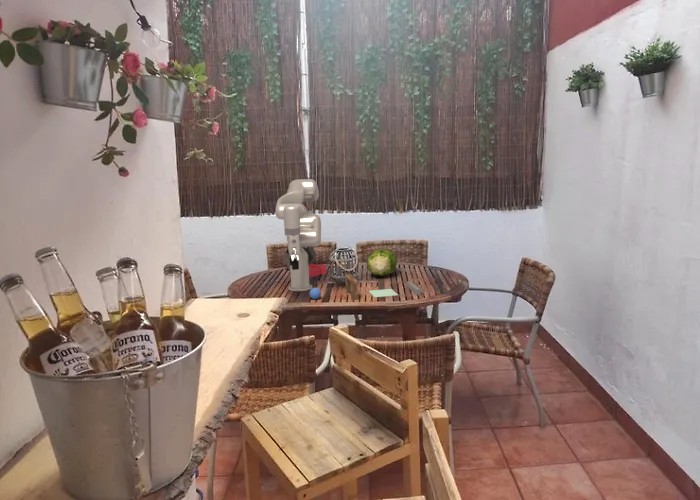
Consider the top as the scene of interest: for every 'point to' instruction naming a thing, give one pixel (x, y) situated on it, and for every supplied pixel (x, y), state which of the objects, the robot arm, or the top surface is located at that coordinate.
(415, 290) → the wall
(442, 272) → the top surface
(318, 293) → the ball
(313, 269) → the tape dispenser
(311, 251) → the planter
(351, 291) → the bridge
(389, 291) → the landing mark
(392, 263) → the lettuce
